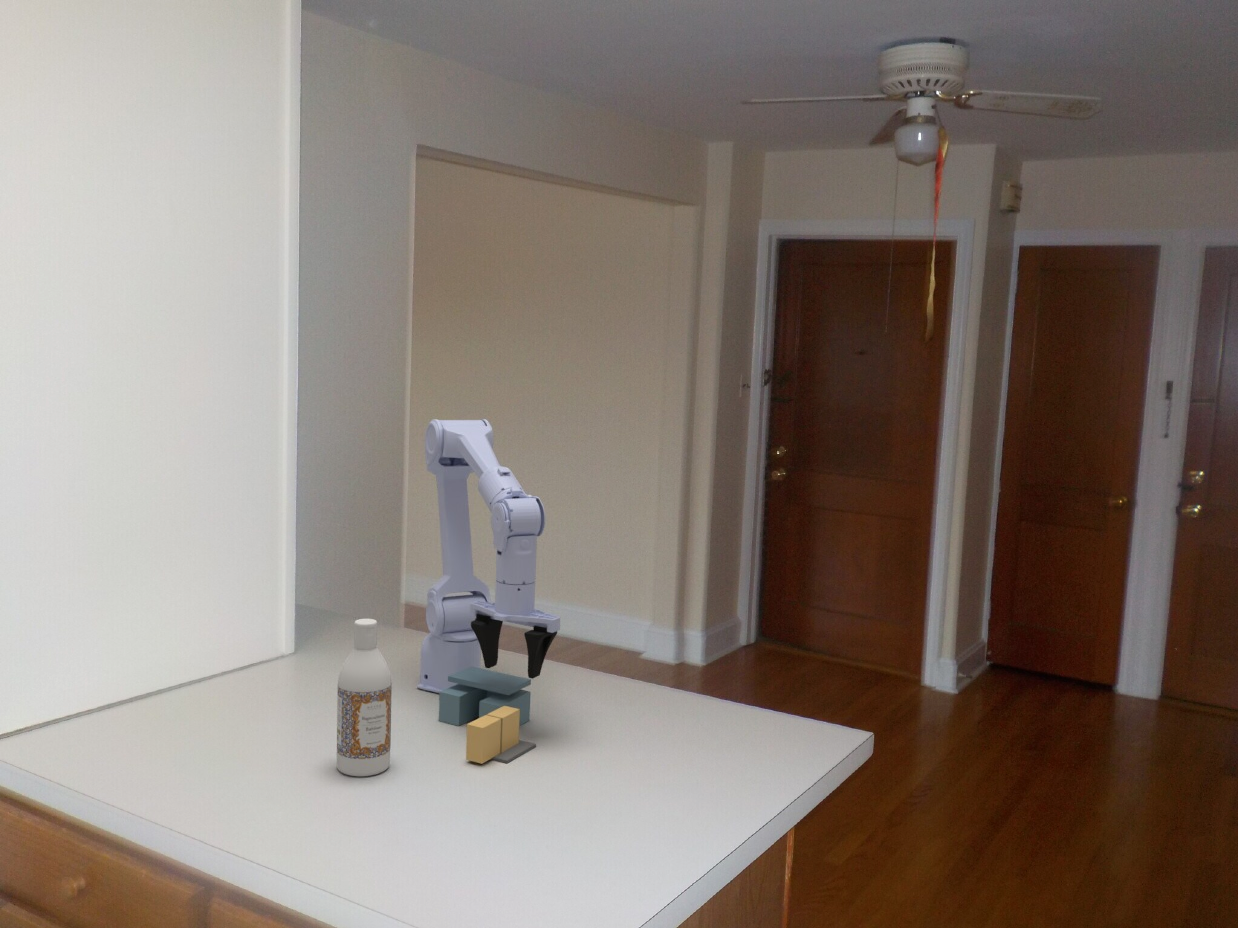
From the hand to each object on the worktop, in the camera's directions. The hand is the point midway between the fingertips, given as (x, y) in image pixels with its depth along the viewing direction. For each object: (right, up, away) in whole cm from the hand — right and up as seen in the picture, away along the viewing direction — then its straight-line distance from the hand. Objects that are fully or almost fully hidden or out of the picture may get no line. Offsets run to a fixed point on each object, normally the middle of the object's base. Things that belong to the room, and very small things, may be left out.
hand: (512, 671), depth 159 cm
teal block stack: (-5, -8, +5) cm, 11 cm away
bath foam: (-19, -10, -14) cm, 25 cm away
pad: (-1, -10, -6) cm, 12 cm away
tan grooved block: (-2, -10, -7) cm, 12 cm away
